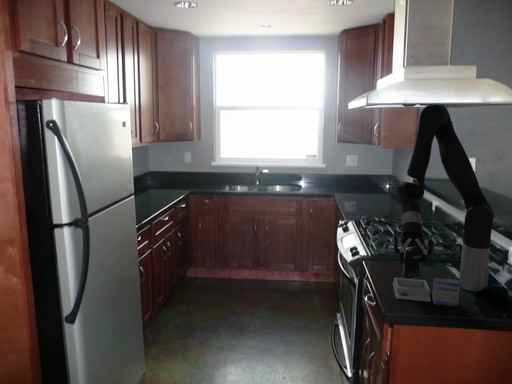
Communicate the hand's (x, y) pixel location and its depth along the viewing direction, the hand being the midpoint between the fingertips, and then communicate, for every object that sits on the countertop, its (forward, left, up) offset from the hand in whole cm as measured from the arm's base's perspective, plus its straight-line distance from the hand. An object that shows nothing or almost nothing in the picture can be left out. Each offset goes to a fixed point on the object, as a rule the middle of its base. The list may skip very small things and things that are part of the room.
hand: (413, 264), depth 152 cm
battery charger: (0, -2, -6) cm, 6 cm away
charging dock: (0, -1, -12) cm, 12 cm away
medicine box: (-11, +5, -12) cm, 17 cm away
